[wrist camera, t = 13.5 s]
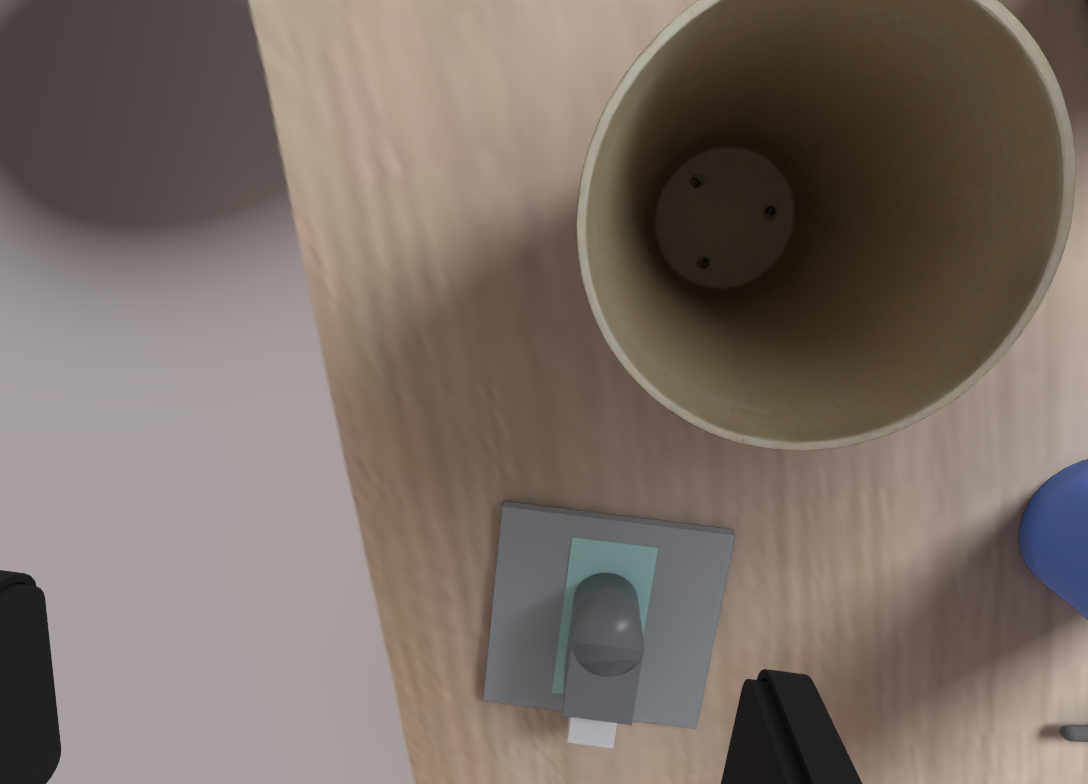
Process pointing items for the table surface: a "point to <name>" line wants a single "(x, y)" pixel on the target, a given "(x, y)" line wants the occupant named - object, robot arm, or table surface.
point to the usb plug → (602, 659)
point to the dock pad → (605, 547)
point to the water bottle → (1059, 535)
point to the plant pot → (824, 212)
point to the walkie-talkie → (1075, 732)
